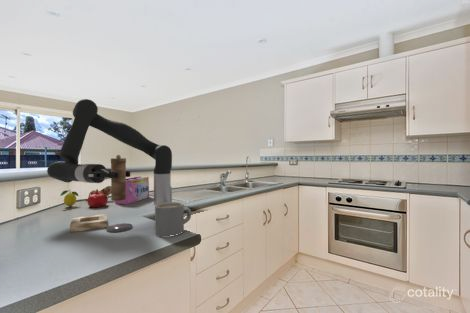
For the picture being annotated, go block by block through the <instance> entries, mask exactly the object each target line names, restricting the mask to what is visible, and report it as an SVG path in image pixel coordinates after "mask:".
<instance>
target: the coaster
mask: <svg viewBox="0 0 470 313" xmlns="http://www.w3.org/2000/svg"><path fill="white" fill-rule="evenodd" d="M132 228H133V224H131V223H117V224H112V225H109V226H107V227H105V231H106V233H107V232H108V233H121V232H126V231H130V230H132Z"/></svg>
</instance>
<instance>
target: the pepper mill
mask: <svg viewBox="0 0 470 313" xmlns="http://www.w3.org/2000/svg"><path fill="white" fill-rule="evenodd" d="M110 163H111V164H110V169H111V172H118V173H119V178H110V180H111V181H110V182H111V183H110V186H111V194H110V195H111V196H110V198H111V199H110V200H111V201H114V202H115V201H119V200H125V199H126V179H127V177H126V171H127V170H126V169H127V166H126V165H127V164H126V163H127V158H125V157H124V158H123V157H122V158H121V155H120V154H117V155H116V157H115V158H110Z"/></svg>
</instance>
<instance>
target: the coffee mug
mask: <svg viewBox="0 0 470 313" xmlns="http://www.w3.org/2000/svg"><path fill="white" fill-rule="evenodd" d="M185 213H186V217H185V216H184V214H185ZM184 217H185V218H184ZM191 218H192V210H191V209H190V208H189V207H187V206H185V205H184V203H183V202H179V201H177V202H176V201H172V202H166V203H160V204H157V205H155V204H154V223H155V225H154V228H155V229H154V230H155V232H154V235H155V236H156V235H159V236H170V235H176V234H179V233H181V232H183V230H184V231H185V226H184V225H185V224H186V223H188V222H189V221H190V220H191ZM183 233H184V232H183ZM159 236H158V237H159Z"/></svg>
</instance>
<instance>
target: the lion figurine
mask: <svg viewBox="0 0 470 313" xmlns="http://www.w3.org/2000/svg"><path fill="white" fill-rule="evenodd" d="M95 192H96V189H95V190H94V189H93V190H91V191H90V192H89V193H88V197H89V196H91V195H94V194H92V193H95ZM100 192H103V193H102V194H104V195H106V196H107V197H109V196H110V195H111V185H108V186H106V187H104V188H102V189H101V190H98V193H100ZM104 192H105V193H104ZM90 193H91V194H90ZM87 200H88V198H87V199H86V200H85V202H87Z"/></svg>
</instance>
